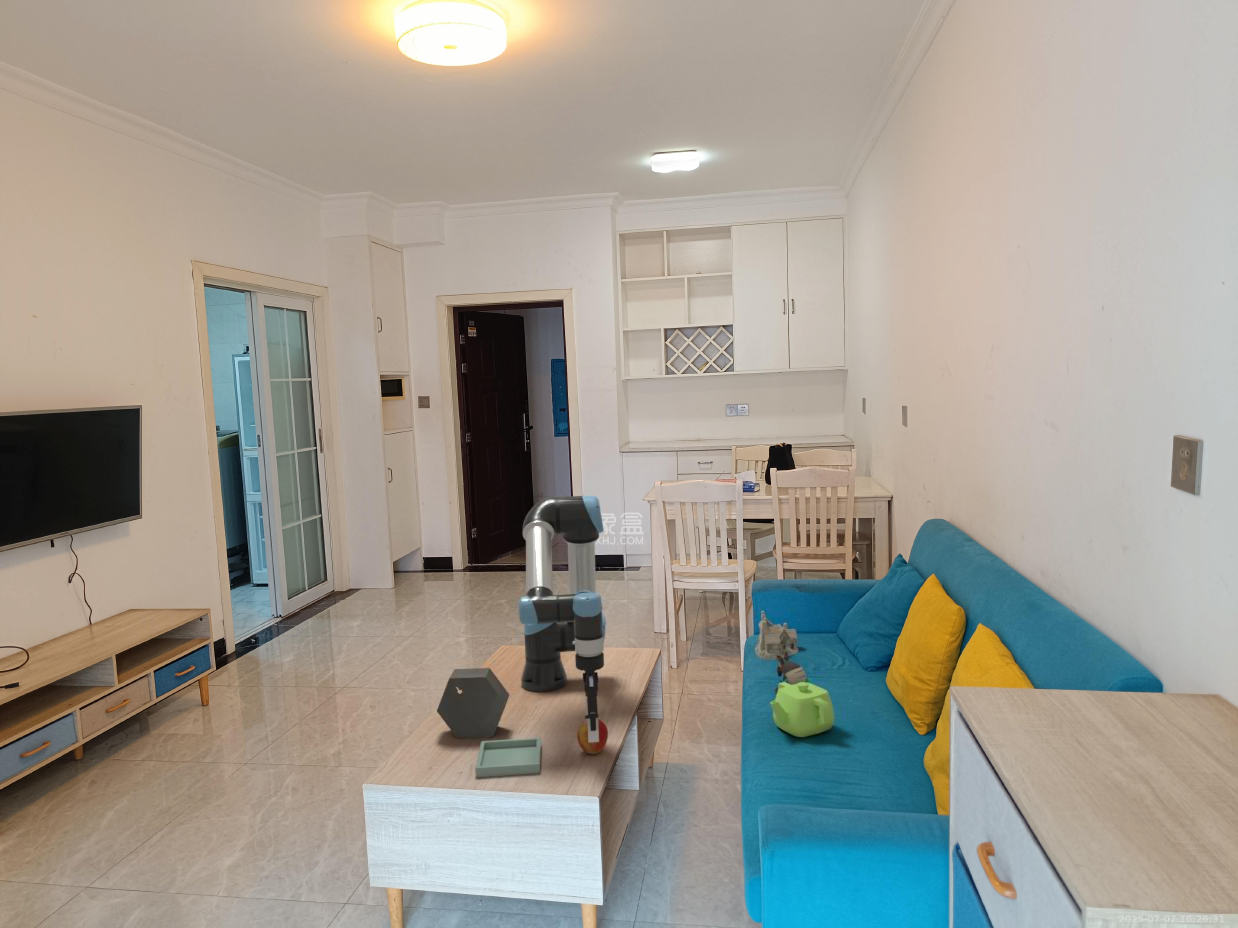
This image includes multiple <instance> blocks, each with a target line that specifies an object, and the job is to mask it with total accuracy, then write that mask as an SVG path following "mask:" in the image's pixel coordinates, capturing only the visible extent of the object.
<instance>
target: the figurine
mask: <svg viewBox="0 0 1238 928" xmlns="http://www.w3.org/2000/svg"><path fill="white" fill-rule="evenodd" d="M789 657H790V656H788V654H787V652H785V655H784V658H782V657H781V656H779V655H777V659H776V660H778V662H779V663H778V664H777V667H776V673H777V676H778V677H782V680H780V679H779V683H782V682H786V683H788V684H790V685H794V684H797V683H800V682H805V683H811V684H813V685H814V683H813V680H812V678H811V677H808V678H807V675H806V672H805V670H804V668H803V667H802V666H801V665H800V664H798V663H797V662H795V661H792V660H789V659H790V658H789ZM785 680H786V681H785ZM774 692H775V694H776V695H777V692H778V686H777V687H775V688H774Z"/></svg>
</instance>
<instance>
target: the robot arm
mask: <svg viewBox="0 0 1238 928" xmlns="http://www.w3.org/2000/svg"><path fill="white" fill-rule="evenodd" d="M604 530H605V529H604V524H603V518H602V511H601V505H600V501H599V498H598V497H597V496H595V495H574V496H559V497H558V496H556V497H555V496H552V497H550V496H549V497H546V498H544V499H542V500H540V501H538V502H537V503H536V504H535V505H533V506H532V507H531V509H530V510H529V511H528V512H527V514H526V516H525V519H524V521H523V525H522V537H523V539H524V540H525V590H526V591H525V592H526V594H525V596H520V598H519V599H518V619H519V622H520V623H521V624H522V625H523V635H524V649H525V650H524V654H525V655H524V656H525V664H524V667H523V670H522V674H521V677H520V684H521V687H522V688H523V689H525V690H527V691H531V692H551V691H555V690H558V689H561V688H563V687H565V686H566V684H567V683H568V675H567V673H566V670H565V667H564V664H563V661H562V658H561V657H562V655H561V654H562V653H564V652H565V653H569V652H575V654H574V658H575V661H574V662H575V668H576V669H577V670H578V671H581V672H582V671H584V672H583V673H582V682H583V686H584V693H585V696H584V697H585V710H586V711H585V712H586V713H585V714H586V715H584V719H586V722H588V743H590V742H599V730H598V719H599V714H598V713H599V712H598V711H599V710H598V698H597V697H598V691H599V687H598V686H599V684H598V683H599V675H598V674H599V673H598V672H597V670H598V671H599V670H601V669H603V667H604V666H605V653H604V649H605V647H604V644H605V640H606V639H605V637H606V615H605V613H603V603H602V596H601V595H600V594H599V593H597V590H596V589H597V588H596V587H597V586H596V585H597V584H596V552H595V550H596V548H595V547H596V546H595V544H596V543H595V542H598V540H599V538H600V533H603V532H604ZM555 535H562V541H564V542H565V543H567V558H568V559H567V560H568V588H569V589H568V591H569V592H568V593H569V594H554V584H553V583H554V582H553V580H554V579H553V555H552V553H553V551H552V540H553V538H554V536H555Z"/></svg>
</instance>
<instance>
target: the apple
mask: <svg viewBox="0 0 1238 928" xmlns="http://www.w3.org/2000/svg"><path fill="white" fill-rule="evenodd" d="M598 730H599V742H590V743H588V722H587V721H585V722H583V723H582V724H581V725H580V726H579V727H578V729H577V733H576V738H577V742H578V745H579V747H580V748H581V749H582V751H583V752H584V753H587V754H588V755H596V754H599V753H601V752H602V751H603V750H604V748H605V746H606V745H607V741H608V737H609V731H608V726H607V725H606V723H604V722H603V720H601V719H599V718H598Z"/></svg>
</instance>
